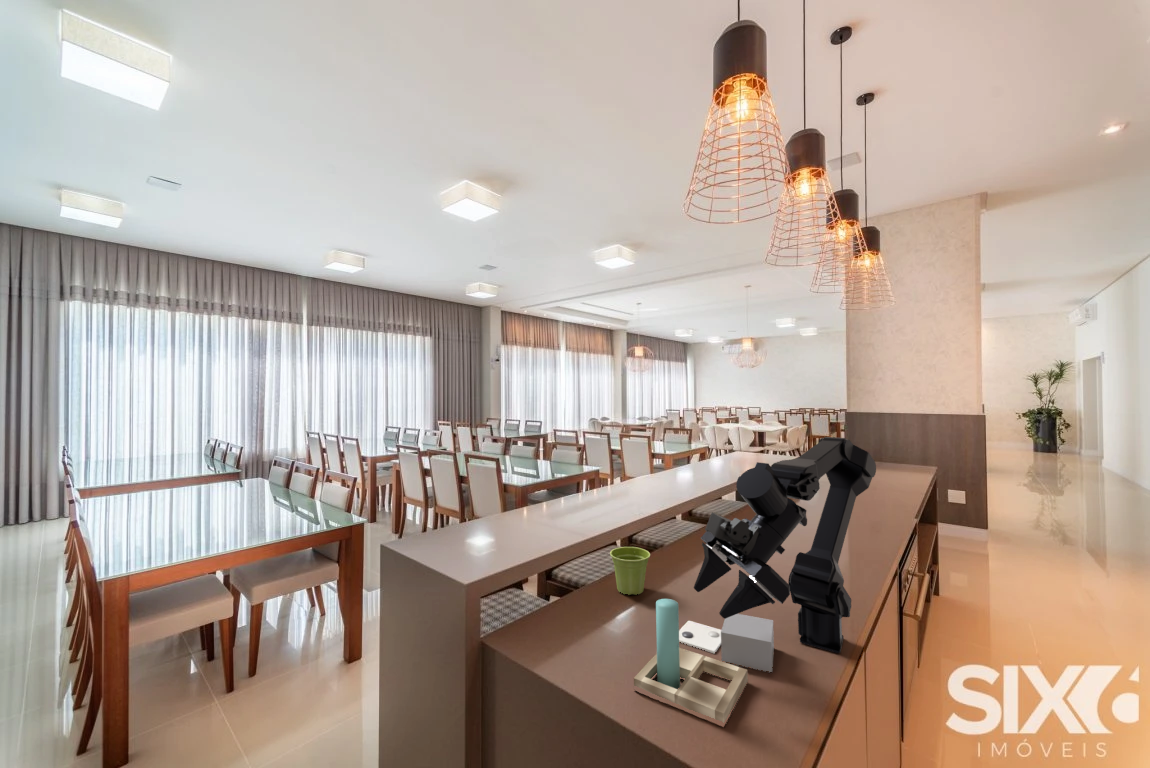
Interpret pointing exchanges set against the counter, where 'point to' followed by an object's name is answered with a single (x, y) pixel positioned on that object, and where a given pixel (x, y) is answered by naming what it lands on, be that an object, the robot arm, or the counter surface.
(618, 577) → the plant pot
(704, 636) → the pattern tile
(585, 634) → the counter surface
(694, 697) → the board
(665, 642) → the pin
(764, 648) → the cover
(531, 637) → the counter surface
